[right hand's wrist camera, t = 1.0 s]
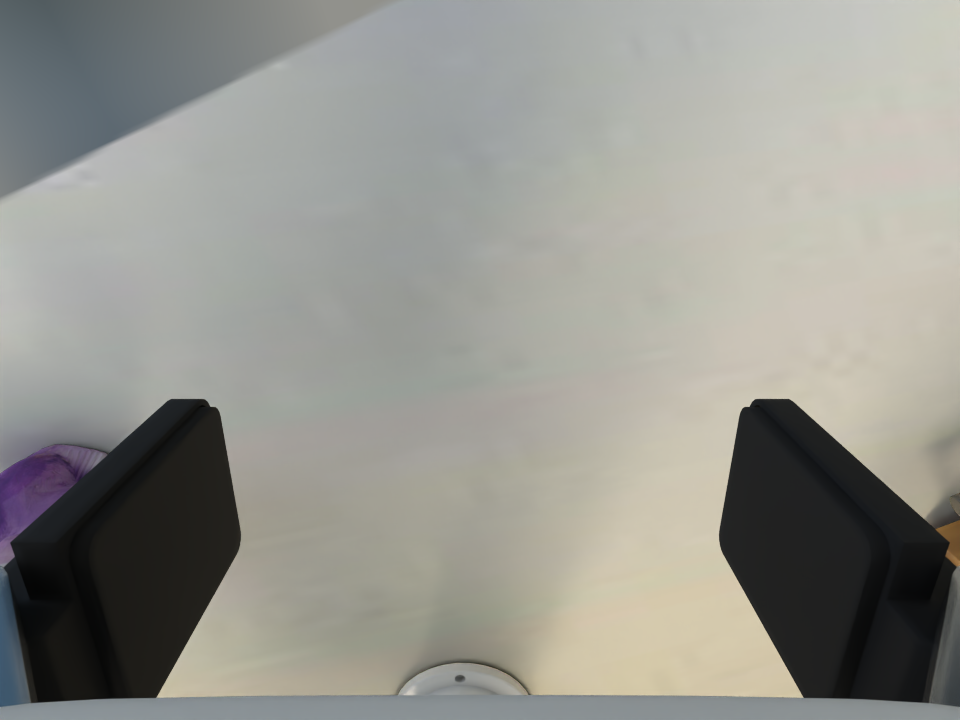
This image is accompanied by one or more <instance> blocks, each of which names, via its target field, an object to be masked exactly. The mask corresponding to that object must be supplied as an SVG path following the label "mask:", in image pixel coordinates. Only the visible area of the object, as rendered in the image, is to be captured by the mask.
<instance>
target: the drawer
mask: <svg viewBox="0 0 960 720" xmlns="http://www.w3.org/2000/svg"><path fill="white" fill-rule="evenodd" d="M950 503H951V506H952V508H953V509H954V511H955V512H956V513H957V514H958V516H959V517H960V493H959V494H956V495H954V496H951V497H950ZM935 530H937V531H938V532H939V533H940V534H941V535H942V536H943V537H944V538H945V539H947V540H948V541H949V542H950V544H949V547H948V550H947V553H946V557H947V558H948V559H949V560H950V561H951V562H952V563H953V564H954V565H955V566H956V567H957V566H960V520H958V521H956V522H953V523H950V524H948V525H945V526H942V527H940V528H937V529H935Z"/></svg>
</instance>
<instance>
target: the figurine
mask: <svg viewBox="0 0 960 720" xmlns="http://www.w3.org/2000/svg"><path fill="white" fill-rule="evenodd" d="M107 455H108V454H106V453H105V452H100V451H98V450H94V449H88V448H83V447H79V446H70V445H60V444H55V445H52V446H49V447H46V448H43V449H41V450H39V451H37V452H35V453H34V454H32V455H30V456H29V457H27V458H25V459H23V460H21V461H19V462H17V463H15V464H14V465H12V466H11V467H9V468H8V469H6V470H5V471H3V472H2V473H1V474H0V566H3V567H4V566H5V565H6V564H8V563H9V562H10V561H11V560H12V559H13V558H14V557H15V556H14V553H13V550H12V547H11V544H10V542H11V541H12V540H13V539H15V538H16V537H17V536H18V535H19V534H20V533H21V532H22V531H23V530H25V529H26V528H27V527H28V526H29V525H30V524H31V523H32V522H33V521H35V520H36V519H37V518H38V517H39V516H40V515H41V514H42V513H43V512H45V511H46V510H47V509H48V508H49V507H50V506H51V505H52V504H54V503H55V502H56V501H57V500H58V499H59V498H60V497H61V496H62V495H64V494H65V493H66V492H67V491H68V490H69V489H70V488H71V487H72V486H74V485H75V484H76V483H77V482H78V481H79V480H80V479H81V478H82V477H84V476H85V475H86V474H87V473H88V472H89V471H90V470H91V469H92V468H94V467H95V466H96V465H97V464H98V463H99V462H100V461H101V460H103V459H104V458H105V457H106V456H107Z"/></svg>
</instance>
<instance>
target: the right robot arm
mask: <svg viewBox="0 0 960 720" xmlns="http://www.w3.org/2000/svg"><path fill="white" fill-rule="evenodd" d="M240 541H241V531H240V525H239V519H238V513H237V508H236V502H235V496H234V491H233V485H232V479H231V473H230V468H229V462H228V456H227V450H226V445H225V439H224V433H223V428H222V422H221V416H220V413H219V411H218V409H217V408H216V407H210V405H209V403H208V402H207V401H206V400H205V399H170V400H169V401H167V402H166V403H165V404H164V405H163V406H162V407H160V408H159V409H158V410H157V411H156V412H155V413H154V414H153V415H151V416H150V417H149V418H148V419H147V420H146V421H145V422H144V423H143V424H141V425H140V426H139V427H138V428H137V429H136V430H135V431H134V432H133V433H131V434H130V435H129V436H128V437H127V438H126V439H125V440H124V441H123V442H121V443H120V444H119V445H118V446H117V447H116V448H115V449H114V450H113V451H111V452H110V453H109V454H108V455H107V456H106V457H105V458H104V459H103V460H101V461H100V462H99V463H98V464H97V465H96V466H95V467H94V468H92V469H91V470H90V471H89V472H88V473H87V474H86V475H85V476H84V477H82V478H81V479H80V480H79V481H78V482H77V483H76V484H75V485H74V486H72V487H71V488H70V489H69V490H68V491H67V492H66V493H65V494H64V495H62V496H61V497H60V498H59V499H58V500H57V501H56V502H55V503H54V504H52V505H51V506H50V507H49V508H48V509H47V510H46V511H45V512H43V513H42V514H41V515H40V516H39V517H38V518H37V519H36V520H35V521H33V522H32V523H31V524H30V525H29V526H28V527H27V528H26V529H25V530H23V531H22V532H21V533H20V534H19V535H18V536H17V537H16V538H15V539H13V540H12V541H11V542H10V544H11V547H12V550H13V553H14V556H15V557H14V558H13V559H12V560H11V561H10V562H9V563H8V564H6V565H5V566H4V567H3V566H0V720H960V566H957V567H956V566H955V565H954V564H952V563H951V562H950V561H949V560H948V559H947V558H946V557H945V556H946V553H947V550H948V547H949V544H950V542H949V541H948V540H947V539H945V538H944V537H943V536H942V535H941V534H940V533H939V532H938V531H937V530H935V529H934V528H933V527H932V526H931V525H930V524H929V523H928V522H927V521H925V520H924V519H923V518H922V517H921V516H920V515H919V514H918V513H917V512H915V511H914V510H913V509H912V508H911V507H910V506H909V505H908V504H906V503H905V502H904V501H903V500H902V499H901V498H900V497H899V496H898V495H896V494H895V493H894V492H893V491H892V490H891V489H890V488H889V487H888V486H886V485H885V484H884V483H883V482H882V481H881V480H880V479H879V478H878V477H876V476H875V475H874V474H873V473H872V472H871V471H870V470H869V469H868V468H866V467H865V466H864V465H863V464H862V463H861V462H860V461H859V460H857V459H856V458H855V457H854V456H853V455H852V454H851V453H850V452H849V451H847V450H846V449H845V448H844V447H843V446H842V445H841V444H840V443H839V442H837V441H836V440H835V439H834V438H833V437H832V436H831V435H830V434H829V433H827V432H826V431H825V430H824V429H823V428H822V427H821V426H820V425H819V424H817V423H816V422H815V421H814V420H813V419H812V418H811V417H810V416H809V415H807V414H806V413H805V412H804V411H803V410H802V409H801V408H800V407H798V406H797V405H796V404H795V403H794V402H793V401H791V400H790V399H755V400H754V401H753V402H752V403H751V405H750V407H744V408H743V409H742V411H741V413H740V416H739V422H738V428H737V433H736V439H735V445H734V450H733V456H732V462H731V468H730V473H729V479H728V485H727V491H726V496H725V502H724V508H723V513H722V519H721V525H720V531H719V541H720V547H721V550H722V552H723V555H724V556H725V558H726V560H727V562H728V564H729V565H730V567H731V569H732V571H733V572H734V574H735V576H736V578H737V580H738V581H739V583H740V585H741V587H742V588H743V590H744V592H745V594H746V596H747V597H748V599H749V601H750V603H751V605H752V606H753V608H754V610H755V612H756V613H757V615H758V617H759V619H760V621H761V622H762V624H763V626H764V628H765V629H766V631H767V633H768V635H769V637H770V638H771V640H772V642H773V644H774V646H775V647H776V649H777V651H778V653H779V654H780V656H781V658H782V660H783V662H784V663H785V665H786V667H787V669H788V671H789V672H790V674H791V676H792V678H793V679H794V681H795V683H796V685H797V687H798V688H799V690H800V692H801V694H802V695H803V697H804V698H779V697H729V696H622V695H528V693H527V691H526V690H525V689H524V688H523V687H522V685H521V684H520V683H519V682H518V681H516V680H515V679H514V678H512V677H511V676H509V675H508V674H506V673H504V672H502V671H500V670H498V669H495V668H492V667H489V666H485V665H480V664H474V663H452V664H445V665H441V666H437V667H434V668H430V669H428V670H426V671H424V672H422V673H420V674H418V675H416V676H415V677H414V678H412V679H411V680H409V681H408V682H407V683H406V684H405V685H404V687H403V688H402V689H401V690H400V692H399V694H398V695H338V696H231V697H181V698H156V697H157V695H158V694H159V692H160V690H161V688H162V687H163V685H164V683H165V681H166V679H167V678H168V676H169V674H170V672H171V671H172V669H173V667H174V665H175V663H176V662H177V660H178V658H179V656H180V654H181V653H182V651H183V649H184V647H185V646H186V644H187V642H188V640H189V638H190V637H191V635H192V633H193V631H194V629H195V628H196V626H197V624H198V622H199V621H200V619H201V617H202V615H203V613H204V612H205V610H206V608H207V606H208V605H209V603H210V601H211V599H212V597H213V596H214V594H215V592H216V590H217V588H218V587H219V585H220V583H221V581H222V580H223V578H224V576H225V574H226V572H227V571H228V569H229V567H230V565H231V564H232V562H233V560H234V558H235V556H236V555H237V552H238V550H239V547H240Z"/></svg>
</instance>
